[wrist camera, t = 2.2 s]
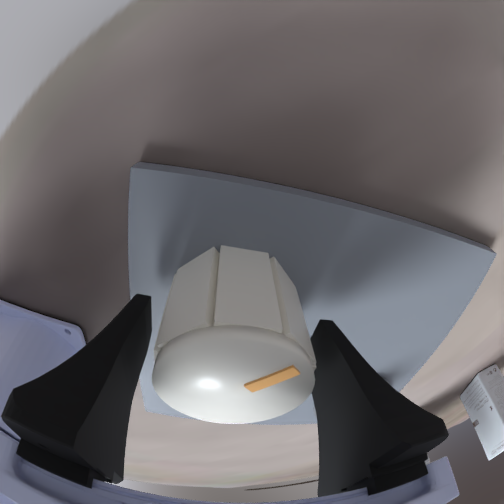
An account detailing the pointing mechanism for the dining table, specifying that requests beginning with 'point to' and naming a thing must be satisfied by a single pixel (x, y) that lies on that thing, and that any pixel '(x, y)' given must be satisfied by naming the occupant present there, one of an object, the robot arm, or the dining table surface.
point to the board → (306, 264)
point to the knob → (233, 340)
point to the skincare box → (487, 409)
